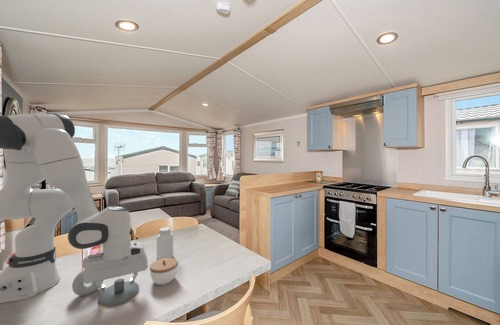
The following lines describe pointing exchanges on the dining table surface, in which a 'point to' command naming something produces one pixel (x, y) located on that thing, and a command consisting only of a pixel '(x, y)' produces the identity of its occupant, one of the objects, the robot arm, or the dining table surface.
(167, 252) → the pill bottle
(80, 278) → the donut
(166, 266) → the lidded jar
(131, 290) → the lid
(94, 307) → the dining table surface
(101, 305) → the mat
